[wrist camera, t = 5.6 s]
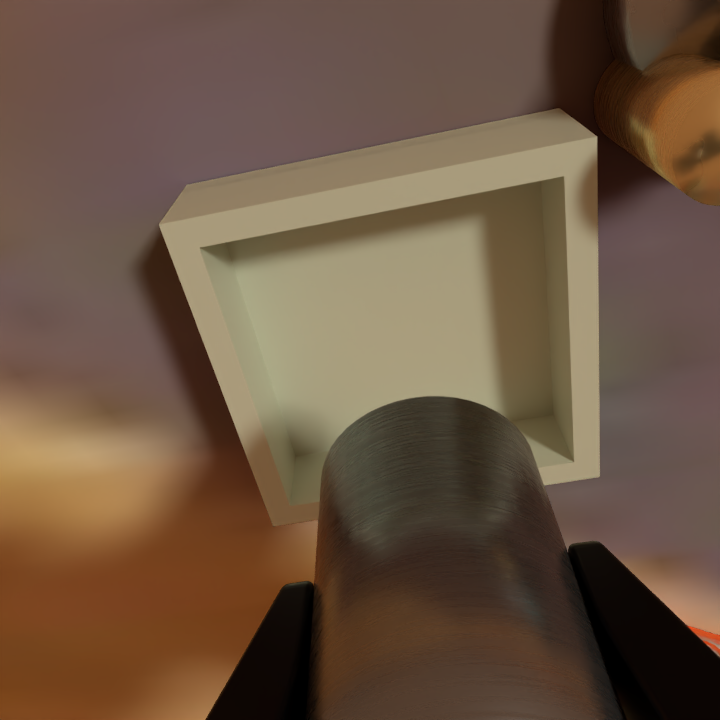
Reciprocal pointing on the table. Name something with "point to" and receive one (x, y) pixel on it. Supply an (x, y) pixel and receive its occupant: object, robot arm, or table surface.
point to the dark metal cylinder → (446, 578)
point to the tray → (401, 293)
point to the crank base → (665, 89)
